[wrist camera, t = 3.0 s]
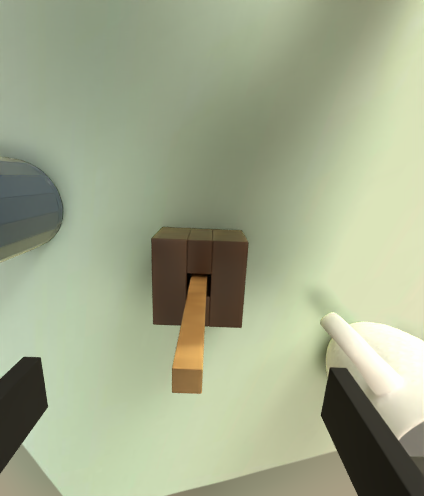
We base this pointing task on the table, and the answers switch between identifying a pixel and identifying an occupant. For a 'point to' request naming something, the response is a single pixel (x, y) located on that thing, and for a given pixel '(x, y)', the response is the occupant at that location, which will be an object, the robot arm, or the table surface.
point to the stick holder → (199, 262)
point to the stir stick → (191, 340)
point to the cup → (26, 208)
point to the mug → (383, 373)
